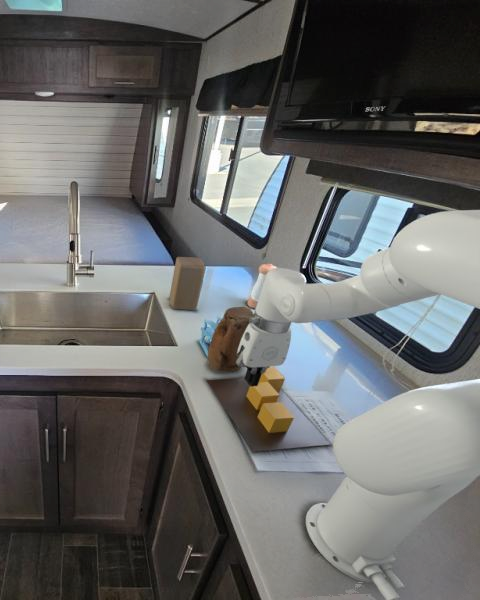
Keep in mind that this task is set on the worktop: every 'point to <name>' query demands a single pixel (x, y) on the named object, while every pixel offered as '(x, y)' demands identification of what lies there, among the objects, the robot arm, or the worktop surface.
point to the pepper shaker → (259, 284)
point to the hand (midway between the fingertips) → (250, 382)
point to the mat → (252, 428)
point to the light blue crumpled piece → (208, 332)
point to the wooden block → (187, 283)
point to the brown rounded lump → (228, 339)
